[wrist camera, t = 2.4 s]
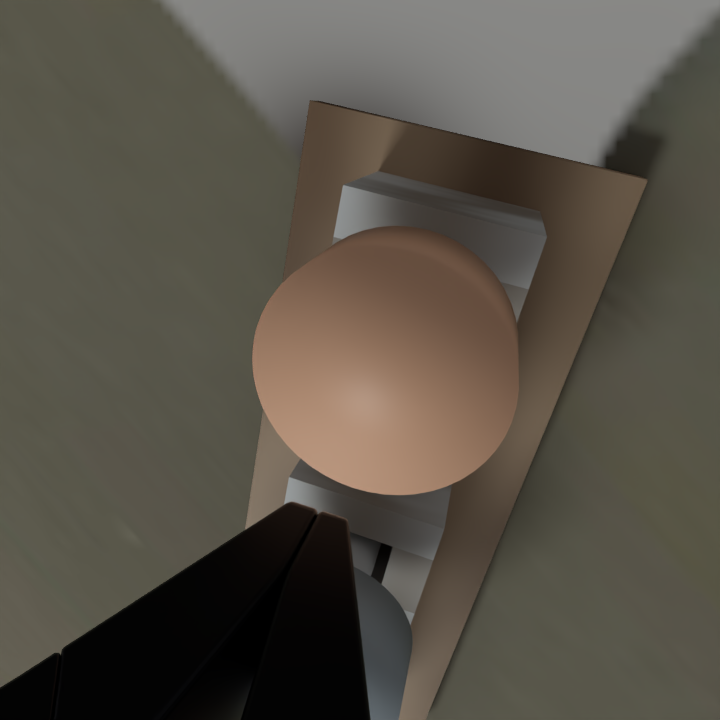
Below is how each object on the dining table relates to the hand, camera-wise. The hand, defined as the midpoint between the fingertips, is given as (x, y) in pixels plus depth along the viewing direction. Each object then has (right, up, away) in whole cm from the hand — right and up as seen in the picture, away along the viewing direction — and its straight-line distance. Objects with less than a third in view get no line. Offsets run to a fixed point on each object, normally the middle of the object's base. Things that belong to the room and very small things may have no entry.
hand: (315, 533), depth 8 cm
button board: (+1, -2, +15) cm, 15 cm away
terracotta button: (+2, +4, +8) cm, 9 cm away
